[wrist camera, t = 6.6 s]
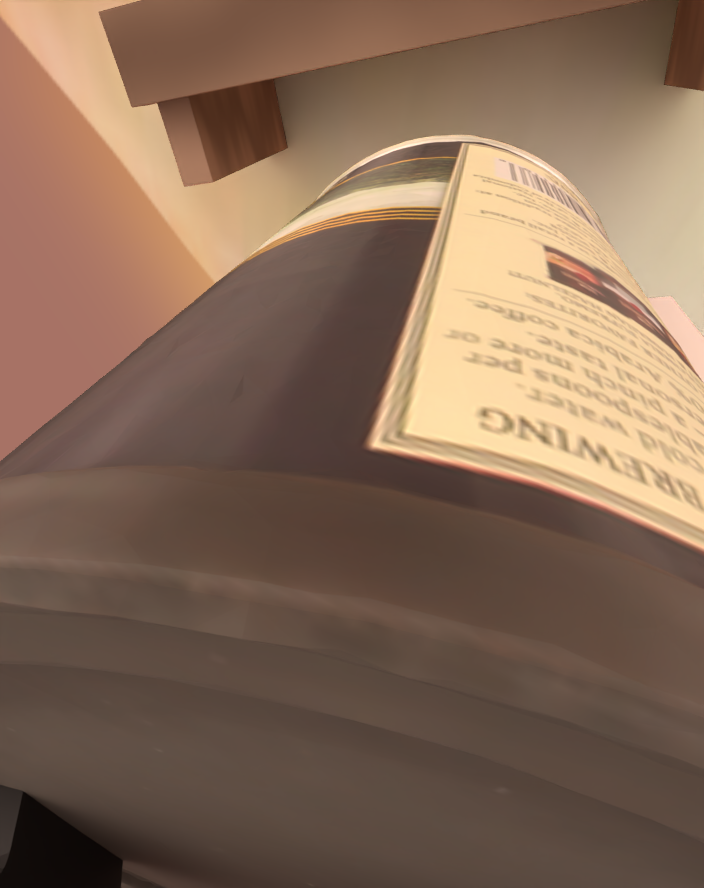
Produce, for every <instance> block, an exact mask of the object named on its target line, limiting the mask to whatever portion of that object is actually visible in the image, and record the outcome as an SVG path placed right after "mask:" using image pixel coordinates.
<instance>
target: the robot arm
mask: <svg viewBox="0 0 704 888" xmlns="http://www.w3.org/2000/svg"><path fill="white" fill-rule="evenodd" d="M647 299H648V300H649V302H650V303H651V305H652V306H653V308H654V309H655V311H656V312H657V314H658V315H659V317H660V318H661V320H662V321H663V323H664V324H665V326H666V327H667V329H668V330H669V332H670V333H671V335H672V336H673V338H674V339H675V340H676V341H677V342H678V344H679V345H680V347H681V349H682V350H683V352H684V353H685V355H686V357H687V358H688V360H689V362H690V363H691V365H692V366H693V368H694V370H695V371H696V373H697V374H698V375H699V377H700V378H701V380H702V381H703V383H704V337H703V336H702V334H701V333H700V332H699V331H698V329H697V328H696V327H695V325H694V324H693V323H692V322H691V320H690V319H689V318H688V316H687V315H686V314H685V313H684V311H683V310H682V309H681V308H680V306H679V305H678V304H677V302H676V301H675V300H674V299H673V297H672V296H668V297H653V298H647ZM122 866H123V860H121V859H120V858H118V857H117V856H115V855H114V854H112V853H111V852H110V851H108V850H107V849H105V848H104V847H102V846H101V845H99V844H98V843H96V842H95V841H94V840H92V839H91V838H89V837H87V836H86V835H84V834H83V833H82V832H80V831H79V830H77V829H76V828H74V827H73V826H72V825H70V824H69V823H67V822H66V821H64V820H63V819H62V818H60V817H59V816H57V815H56V814H55V813H53V812H52V811H50V810H49V809H47V808H46V807H45V806H43V805H42V804H40V803H39V802H38V801H36V800H35V799H33V798H32V797H31V796H29V795H28V794H27V793H25V792H24V791H21V790H18V789H14V788H10V787H7V786H3V785H0V888H121V882H122Z"/></svg>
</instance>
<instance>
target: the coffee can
mask: <svg viewBox="0 0 704 888" xmlns="http://www.w3.org/2000/svg"><path fill="white" fill-rule="evenodd" d="M0 785H3V786H7V787H10V788H14V789H18V790H21V791H24V792H25V793H27V794H28V795H29V796H31V797H32V798H33V799H35V800H36V801H38V802H39V803H40V804H42V805H43V806H45V807H46V808H47V809H49V810H50V811H52V812H53V813H55V814H56V815H57V816H59V817H60V818H62V819H63V820H64V821H66V822H67V823H69V824H70V825H72V826H73V827H74V828H76V829H77V830H79V831H80V832H82V833H83V834H84V835H86V836H87V837H89V838H91V839H92V840H94V841H95V842H96V843H98V844H99V845H101V846H102V847H104V848H105V849H107V850H108V851H110V852H111V853H112V854H114V855H115V856H117V857H118V858H120V859H121V860H123V866H122V882H121V888H704V383H703V381H702V380H701V378H700V377H699V375H698V374H697V373H696V371H695V370H694V368H693V366H692V365H691V363H690V362H689V360H688V358H687V357H686V355H685V353H684V352H683V350H682V349H681V347H680V345H679V344H678V342H677V341H676V340H675V339H674V338H673V336H672V335H671V333H670V332H669V330H668V329H667V327H666V326H665V324H664V323H663V321H662V320H661V318H660V317H659V315H658V314H657V312H656V311H655V309H654V308H653V306H652V305H651V303H650V302H649V300H648V299H647V297H646V296H645V294H644V293H643V291H642V290H641V288H640V287H639V285H638V284H637V282H636V281H635V279H634V278H633V277H632V275H631V274H630V272H629V271H628V269H627V268H626V266H625V264H624V263H623V261H622V260H621V258H620V257H619V255H618V254H617V252H616V251H615V249H614V248H613V246H612V245H611V243H610V242H609V240H608V237H607V234H606V232H605V230H604V228H603V226H602V224H601V221H600V219H599V216H598V215H597V214H596V212H595V211H594V210H593V209H592V207H591V206H590V204H589V203H588V201H587V200H586V198H585V197H584V196H583V195H582V194H581V193H580V191H579V190H578V189H577V188H576V187H575V186H574V185H573V184H572V183H571V182H570V181H569V180H568V179H567V178H566V177H565V176H564V175H563V174H561V173H560V172H559V171H558V170H556V169H555V168H553V167H552V166H550V165H549V164H547V163H546V162H544V161H543V160H541V159H540V158H538V157H536V156H534V155H532V154H530V153H528V152H526V151H524V150H522V149H519V148H517V147H514V146H512V145H510V144H507V143H503V142H499V141H496V140H492V139H488V138H481V137H478V136H474V135H444V136H430V137H423V138H418V139H413V140H409V141H405V142H402V143H399V144H396V145H393V146H390V147H388V148H385V149H383V150H380V151H378V152H376V153H374V154H372V155H370V156H368V157H366V158H365V159H363V160H361V161H360V162H358V163H357V164H355V165H353V166H352V167H351V168H349V169H348V170H347V171H345V172H344V173H343V174H342V175H340V176H339V177H338V178H336V179H335V180H334V181H332V182H331V183H330V184H329V186H328V187H327V188H326V189H325V190H324V191H323V192H322V193H321V194H320V195H319V196H318V197H317V199H316V200H315V202H313V203H312V204H311V205H310V206H309V207H308V208H306V209H305V210H304V211H303V212H301V213H300V214H299V215H298V216H296V217H295V218H294V219H293V220H291V221H290V222H289V223H288V224H287V225H286V226H284V227H283V228H282V229H281V230H280V231H278V232H277V233H276V234H275V235H274V236H272V237H271V238H270V239H268V240H267V241H266V242H265V243H264V244H263V245H261V246H260V247H259V248H258V249H257V250H256V251H254V252H253V253H252V254H251V255H250V256H248V257H247V258H246V259H245V260H244V261H243V262H241V263H240V264H239V265H238V266H237V267H235V268H234V269H233V270H232V271H231V272H229V273H228V274H227V275H226V276H224V277H223V278H222V279H220V280H219V281H218V282H216V283H215V284H214V285H213V286H212V287H211V288H209V289H208V290H207V291H206V292H205V293H203V294H202V295H201V296H200V297H199V298H198V299H196V300H195V301H194V302H193V303H192V304H190V305H189V306H188V307H187V308H185V309H184V310H183V311H182V312H180V313H179V314H178V315H176V316H175V317H174V318H173V319H172V320H171V321H170V322H169V323H167V324H166V325H165V326H164V327H163V328H161V329H160V330H159V331H157V332H156V333H155V334H154V335H153V336H151V337H149V338H148V339H146V340H145V341H144V342H143V343H142V344H141V346H140V347H138V348H137V349H136V350H135V351H133V352H132V353H131V354H130V355H129V356H128V357H127V358H126V359H124V360H123V361H122V362H121V363H120V364H118V365H117V366H116V367H115V368H114V369H112V370H111V371H110V372H109V373H107V374H106V375H105V376H103V377H102V378H101V379H100V380H98V382H96V383H95V384H94V385H93V386H91V387H90V388H89V389H88V390H86V391H85V392H84V393H83V394H82V395H80V396H79V397H78V398H77V399H76V400H74V401H73V402H72V403H71V404H70V405H68V407H66V408H65V409H63V410H62V411H61V412H60V413H58V414H57V415H56V416H55V417H53V418H52V419H51V420H50V421H48V422H47V423H46V424H44V425H43V426H42V427H41V428H40V429H38V430H37V431H36V432H35V433H34V434H32V435H31V436H30V437H29V438H28V439H26V441H24V442H23V443H22V444H21V445H19V446H18V447H17V448H16V449H15V450H14V451H12V452H11V453H10V454H9V455H7V456H6V457H5V458H4V459H3V460H1V461H0Z"/></svg>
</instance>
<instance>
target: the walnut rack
mask: <svg viewBox="0 0 704 888" xmlns="http://www.w3.org/2000/svg"><path fill="white" fill-rule="evenodd" d="M642 1H646V0H140V1H137V2H133V3H130V4H126V5H122V6H119V7H115V8H111V9H108V10H104V11H101V12H99V15H100V18H101V21H102V23H103V26H104V29H105V32H106V35H107V38H108V41H109V43H110V46H111V49H112V52H113V55H114V58H115V60H116V63H117V66H118V69H119V72H120V75H121V78H122V80H123V83H124V86H125V89H126V92H127V95H128V98H129V100H130V103H131V106H132V107H138V106H145V105H150V104H155V103H157V104H158V107H159V110H160V113H161V116H162V119H163V122H164V125H165V128H166V131H167V135H168V138H169V141H170V144H171V147H172V150H173V153H174V156H175V159H176V162H177V165H178V169H179V172H180V175H181V178H182V181H183V184H184V187H185V186H192V185H198V184H205V183H211V182H215V181H217V180H219V179H221V178H223V177H225V176H228V175H230V174H232V173H234V172H236V171H238V170H241V169H243V168H245V167H247V166H249V165H252V164H254V163H256V162H258V161H260V160H262V159H265V158H267V157H269V156H271V155H273V154H275V153H278V152H280V151H282V150H284V149H286V148H287V144H286V139H285V134H284V129H283V124H282V119H281V114H280V109H279V104H278V99H277V95H276V90H275V85H274V80H273V79H274V78H279V77H284V76H289V75H293V74H298V73H303V72H308V71H312V70H317V69H322V68H327V67H332V66H336V65H341V64H346V63H351V62H355V61H360V60H365V59H370V58H374V57H379V56H384V55H389V54H394V53H398V52H403V51H408V50H413V49H417V48H422V47H427V46H432V45H436V44H441V43H446V42H451V41H456V40H460V39H465V38H470V37H475V36H479V35H484V34H489V33H494V32H498V31H503V30H508V29H513V28H518V27H522V26H527V25H532V24H537V23H541V22H546V21H551V20H556V19H560V18H565V17H570V16H575V15H580V14H584V13H589V12H594V11H599V10H603V9H608V8H613V7H618V6H622V5H627V4H632V3H637V2H642ZM664 85H670V86H676V87H683V88H689V89H695V90H702V91H704V0H679V2H678V8H677V14H676V19H675V25H674V31H673V37H672V42H671V48H670V54H669V60H668V65H667V71H666V77H665V83H664Z"/></svg>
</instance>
